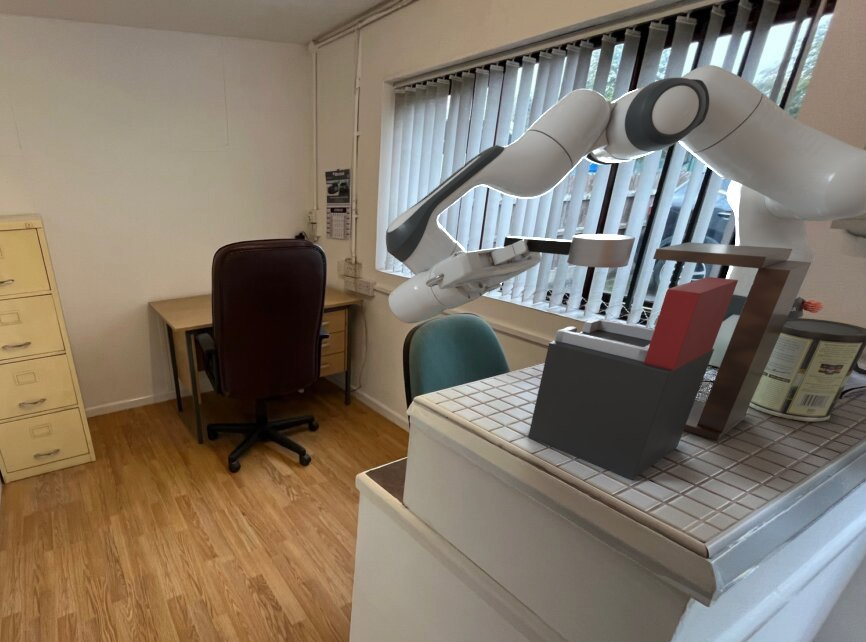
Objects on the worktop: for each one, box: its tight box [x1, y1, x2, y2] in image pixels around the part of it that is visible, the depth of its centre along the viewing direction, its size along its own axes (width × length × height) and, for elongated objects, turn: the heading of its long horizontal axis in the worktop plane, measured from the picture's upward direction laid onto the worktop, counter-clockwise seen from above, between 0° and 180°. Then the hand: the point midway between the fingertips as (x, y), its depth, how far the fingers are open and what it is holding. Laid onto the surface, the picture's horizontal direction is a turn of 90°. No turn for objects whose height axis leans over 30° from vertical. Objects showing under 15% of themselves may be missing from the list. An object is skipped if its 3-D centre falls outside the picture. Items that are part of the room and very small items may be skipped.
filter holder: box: [503, 233, 636, 269], centre depth 66 cm, size 17×7×4 cm, turn 33°
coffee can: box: [749, 317, 866, 423], centre depth 73 cm, size 10×10×14 cm
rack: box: [652, 242, 811, 441], centre depth 71 cm, size 14×12×26 cm
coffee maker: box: [527, 276, 738, 481], centre depth 63 cm, size 14×14×24 cm
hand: (534, 243), depth 69 cm, fingers closed on filter holder, 2 cm apart
